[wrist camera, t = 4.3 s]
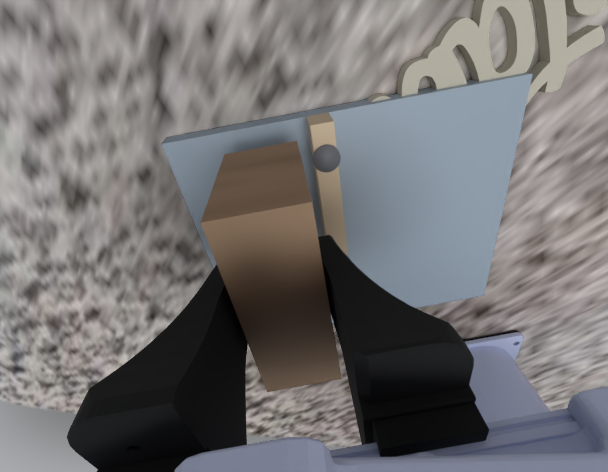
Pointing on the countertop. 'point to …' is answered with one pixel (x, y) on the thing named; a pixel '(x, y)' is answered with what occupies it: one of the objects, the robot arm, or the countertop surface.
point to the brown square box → (273, 264)
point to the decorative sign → (521, 43)
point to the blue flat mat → (390, 180)
